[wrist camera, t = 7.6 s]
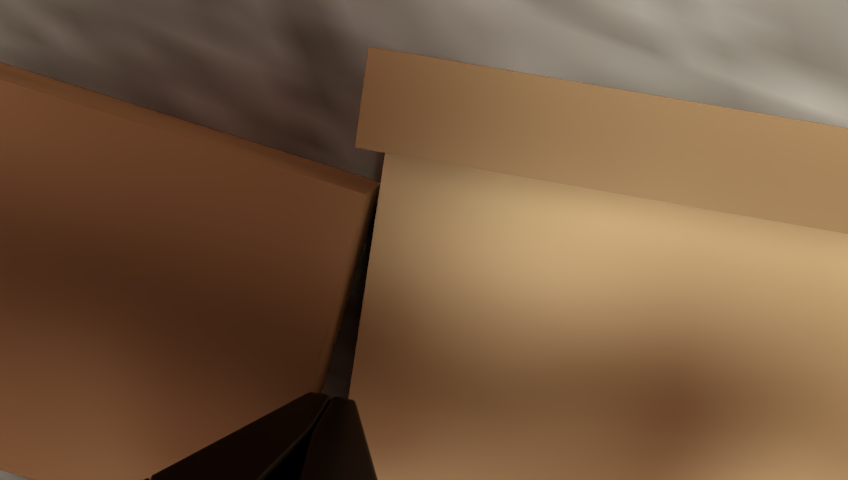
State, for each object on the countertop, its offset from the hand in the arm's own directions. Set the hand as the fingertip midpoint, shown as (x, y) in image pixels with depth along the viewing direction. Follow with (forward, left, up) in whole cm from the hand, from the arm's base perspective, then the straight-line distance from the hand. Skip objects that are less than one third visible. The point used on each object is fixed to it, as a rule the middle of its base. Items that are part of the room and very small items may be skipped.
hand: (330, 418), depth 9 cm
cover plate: (+1, +7, -3) cm, 7 cm away
